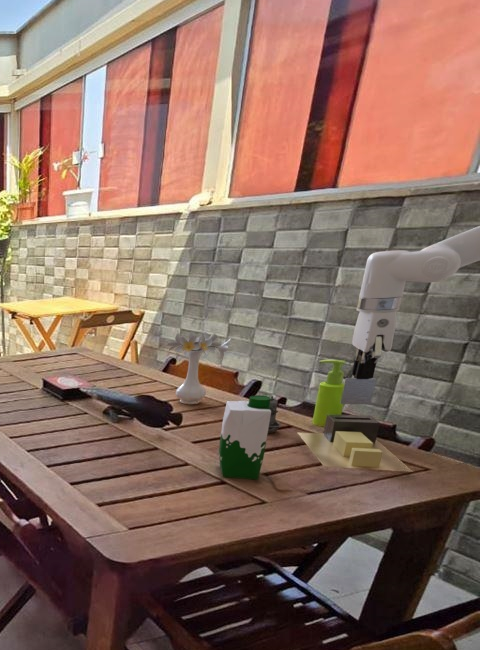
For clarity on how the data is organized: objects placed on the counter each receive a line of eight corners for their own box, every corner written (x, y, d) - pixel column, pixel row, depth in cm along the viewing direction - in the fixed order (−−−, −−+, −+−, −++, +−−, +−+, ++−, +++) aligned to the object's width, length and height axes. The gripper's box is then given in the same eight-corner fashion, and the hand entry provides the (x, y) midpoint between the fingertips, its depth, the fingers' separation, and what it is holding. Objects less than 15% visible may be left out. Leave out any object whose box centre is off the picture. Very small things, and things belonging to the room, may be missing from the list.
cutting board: (370, 439, 133) (371, 435, 133) (412, 476, 113) (413, 471, 113) (296, 436, 140) (297, 432, 140) (323, 470, 120) (324, 466, 120)
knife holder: (365, 436, 133) (370, 415, 131) (374, 444, 128) (380, 422, 126) (323, 434, 137) (327, 414, 135) (330, 442, 132) (334, 421, 130)
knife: (368, 403, 128) (380, 354, 124) (371, 405, 127) (383, 356, 122) (338, 402, 131) (349, 354, 127) (341, 404, 129) (352, 356, 125)
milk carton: (263, 481, 119) (276, 403, 112) (218, 478, 123) (228, 402, 116) (256, 467, 126) (269, 392, 119) (214, 464, 130) (224, 391, 123)
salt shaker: (252, 430, 147) (258, 392, 143) (277, 432, 144) (284, 393, 140) (254, 437, 143) (260, 398, 139) (280, 439, 140) (287, 399, 136)
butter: (357, 446, 128) (360, 432, 126) (369, 458, 121) (373, 443, 120) (332, 445, 130) (335, 431, 129) (343, 456, 123) (346, 442, 122)
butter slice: (375, 464, 118) (379, 449, 117) (379, 467, 116) (383, 452, 115) (348, 462, 120) (351, 447, 119) (351, 465, 119) (354, 450, 117)
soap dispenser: (309, 422, 148) (322, 357, 142) (340, 426, 143) (354, 359, 137) (304, 427, 145) (317, 361, 138) (335, 432, 140) (350, 363, 133)
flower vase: (226, 407, 168) (236, 334, 160) (165, 407, 175) (171, 337, 167) (217, 396, 179) (225, 327, 171) (160, 396, 186) (165, 330, 178)
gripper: (415, 307, 112) (395, 385, 118) (385, 299, 125) (368, 369, 131) (371, 309, 115) (354, 384, 121) (346, 301, 128) (332, 369, 135)
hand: (361, 376), depth 126 cm, fingers closed on knife, 2 cm apart
